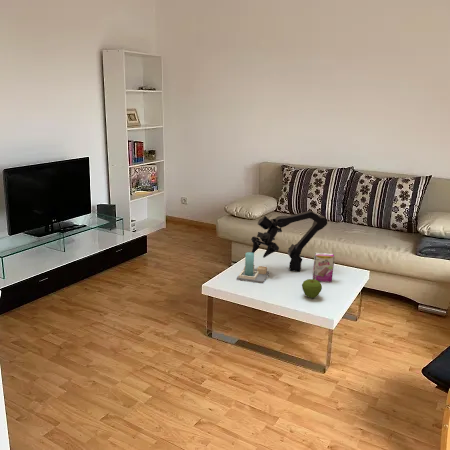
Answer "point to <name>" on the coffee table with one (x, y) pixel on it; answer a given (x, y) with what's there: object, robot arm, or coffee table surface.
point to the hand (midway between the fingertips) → (257, 255)
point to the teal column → (249, 263)
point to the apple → (311, 288)
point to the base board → (255, 275)
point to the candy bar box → (323, 267)
